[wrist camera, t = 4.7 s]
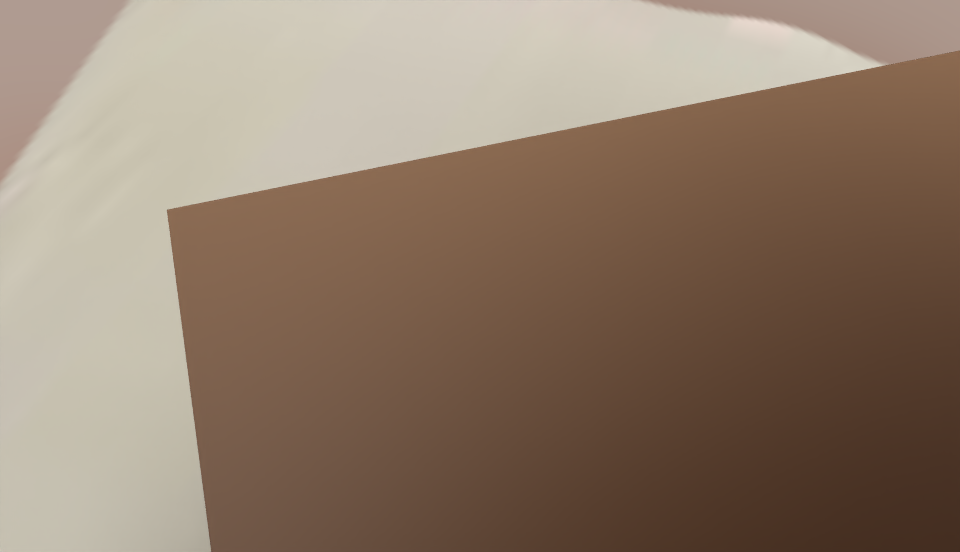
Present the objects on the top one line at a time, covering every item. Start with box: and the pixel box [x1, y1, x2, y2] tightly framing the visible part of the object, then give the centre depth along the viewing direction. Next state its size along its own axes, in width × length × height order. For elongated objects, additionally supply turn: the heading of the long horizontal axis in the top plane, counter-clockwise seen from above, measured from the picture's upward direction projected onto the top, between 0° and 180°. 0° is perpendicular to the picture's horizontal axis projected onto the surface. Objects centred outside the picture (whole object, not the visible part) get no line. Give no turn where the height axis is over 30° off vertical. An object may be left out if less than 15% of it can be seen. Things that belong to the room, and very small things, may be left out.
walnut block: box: [167, 51, 960, 552], centre depth 9 cm, size 4×4×13 cm
